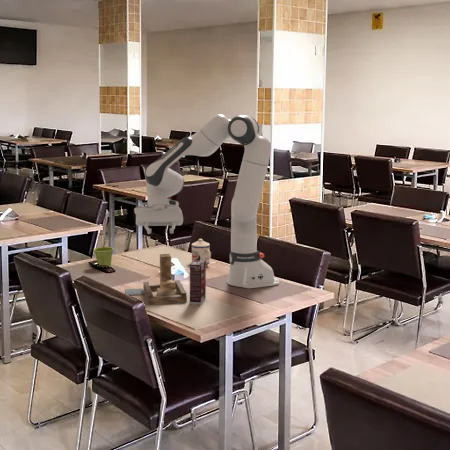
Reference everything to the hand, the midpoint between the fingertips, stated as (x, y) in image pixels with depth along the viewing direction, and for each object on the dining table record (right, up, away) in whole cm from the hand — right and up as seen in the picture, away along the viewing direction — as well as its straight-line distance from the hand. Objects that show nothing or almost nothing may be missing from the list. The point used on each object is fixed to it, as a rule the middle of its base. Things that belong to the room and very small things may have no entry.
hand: (160, 232), depth 279 cm
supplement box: (+16, -27, -18) cm, 37 cm away
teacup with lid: (+16, -15, +42) cm, 48 cm away
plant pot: (-30, -17, +34) cm, 48 cm away
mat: (-10, -24, -7) cm, 27 cm away
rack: (+3, -25, -11) cm, 28 cm away
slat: (+3, -25, -8) cm, 26 cm away
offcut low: (+4, -26, -14) cm, 30 cm away
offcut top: (+4, -22, -15) cm, 27 cm away
